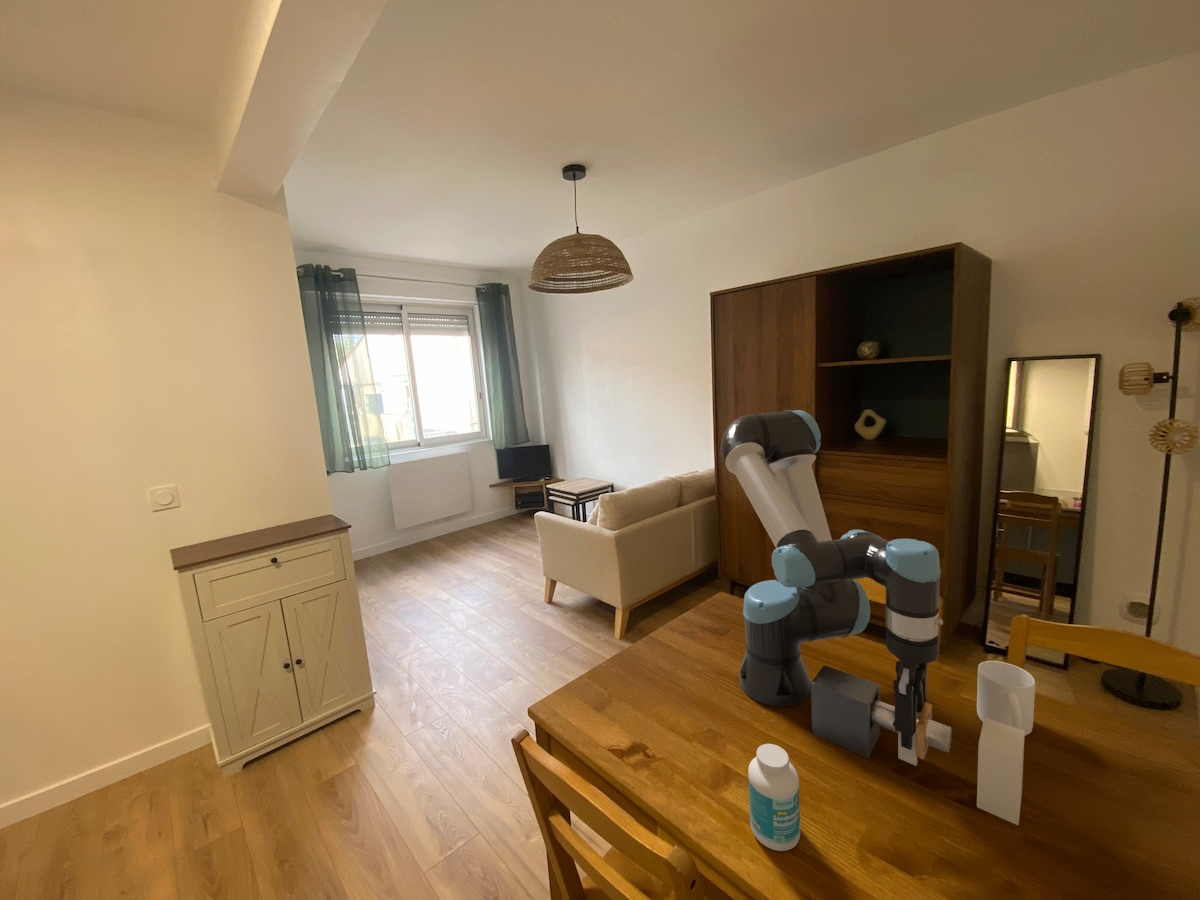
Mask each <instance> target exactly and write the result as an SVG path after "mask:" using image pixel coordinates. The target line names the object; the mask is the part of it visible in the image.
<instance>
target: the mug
mask: <svg viewBox="0 0 1200 900" xmlns="http://www.w3.org/2000/svg"><path fill="white" fill-rule="evenodd" d="M976 693H977V694H976V712H977V713H976V714H977V716H978V718H979V720H980V721H981V722H982V723H983V721H984V717H985V718H988V719H991V720H994V721H997V722H1000V723H1003V724H1006V725H1009V726H1012V727H1015V728H1017V729H1020V730H1023V731H1025V736H1028V735H1029V734H1031V733H1032V731H1033V728H1034V715H1035V714H1034V712H1035V711H1034V710H1035V695H1036V679H1035V678H1034V676H1033V675H1032V674H1031V673H1030V672H1029V671H1027V670H1025V669H1023V668H1022V667H1019V666H1017V665H1014V664H1011V663H1008V662H1005V661H1004V662H1003V661H997V660H987V661H983V662H982V661H981V662H980V663H978V666H977V692H976Z"/></svg>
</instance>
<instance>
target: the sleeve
mask: <svg viewBox="0 0 1200 900" xmlns="http://www.w3.org/2000/svg"><path fill="white" fill-rule="evenodd" d="M810 694H811V695H810V698H811V729H812V731H811V732H812V735H815V736H817V737H819V738H821V739H824V740H825V741H828V742H830V743H833V744H834V745H837V746H839V747H842V748H844V749H846V750H848V751H851V752H853V753H855V754H857V755H860V756H861V757H864V758H866V759H870V757H871V754H872V752H873V750H874V748H875V746H876V745H877V742H878V740H879V738H880V725H877V724H875V723H872V722H870V705H871V703H872V701H873V700H874V699H875V700H878V701H880V683H877V682H874V681H872V680H870V679H865V678H863V677H860V676H857V675H853V674H851V673H848V672H845V671H842V670H840V669H836V668H834V667H830V666H828V665H823V666H821V668H820V670H819V671H818V673H816V675H815V677H814V678H813V679H812V681H810Z"/></svg>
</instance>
